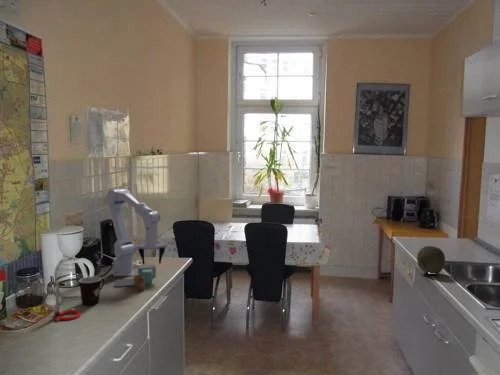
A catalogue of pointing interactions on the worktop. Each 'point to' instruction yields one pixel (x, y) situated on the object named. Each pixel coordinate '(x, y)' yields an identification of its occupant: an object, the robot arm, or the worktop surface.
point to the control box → (146, 267)
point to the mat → (124, 283)
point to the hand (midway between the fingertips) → (151, 263)
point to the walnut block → (139, 282)
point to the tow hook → (58, 314)
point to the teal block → (147, 276)
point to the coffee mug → (90, 290)
